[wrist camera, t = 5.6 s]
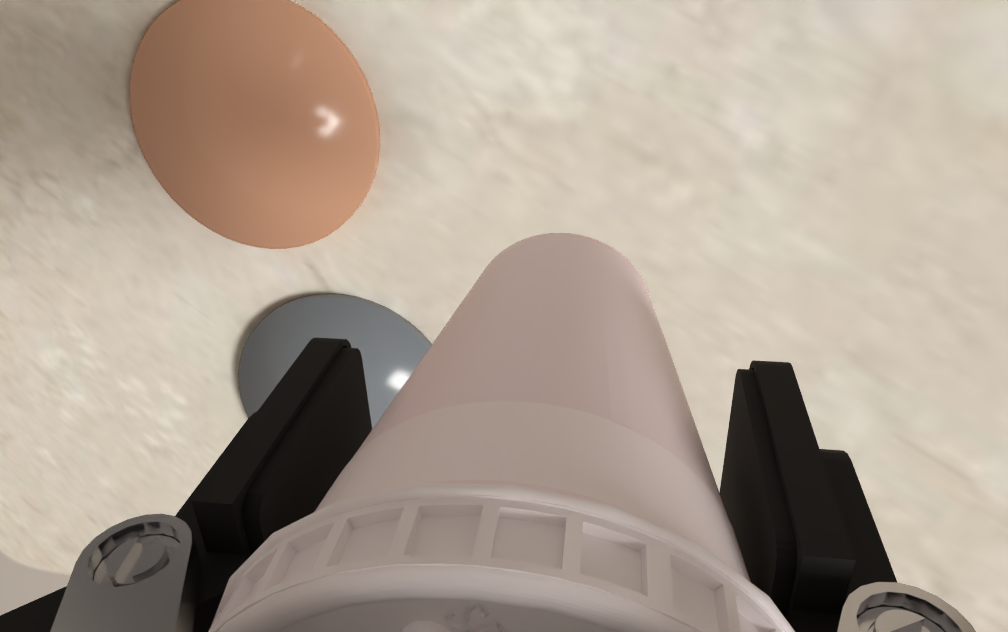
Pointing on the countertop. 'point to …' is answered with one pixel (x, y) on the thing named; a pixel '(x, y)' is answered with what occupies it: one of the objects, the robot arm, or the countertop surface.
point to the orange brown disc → (255, 119)
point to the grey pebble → (363, 323)
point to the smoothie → (520, 480)
